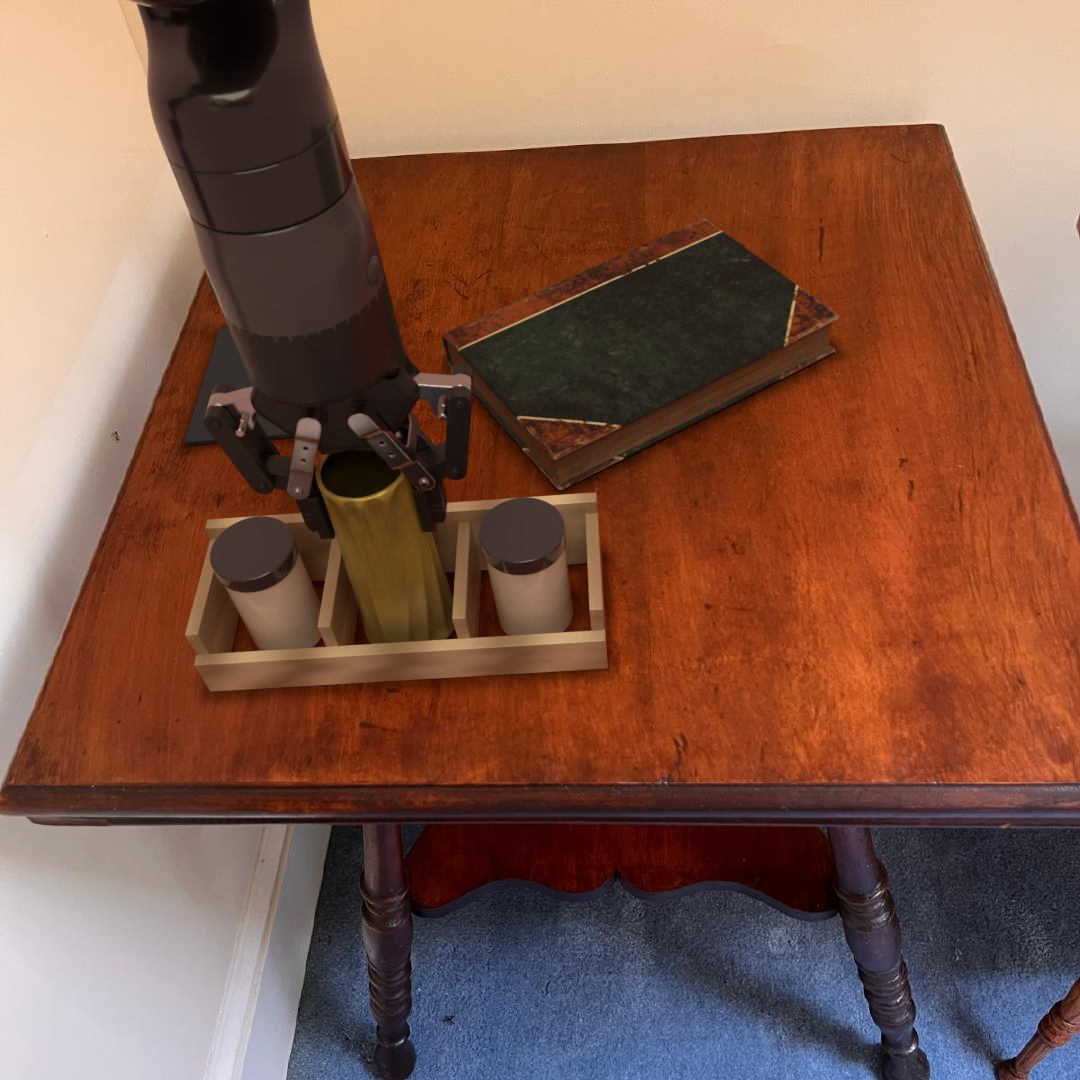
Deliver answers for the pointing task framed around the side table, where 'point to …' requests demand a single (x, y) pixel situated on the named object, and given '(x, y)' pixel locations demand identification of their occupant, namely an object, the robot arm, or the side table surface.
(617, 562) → the side table surface
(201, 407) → the mat
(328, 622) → the rack
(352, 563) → the vase
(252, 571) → the spice jar left
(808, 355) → the book
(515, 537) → the spice jar right
